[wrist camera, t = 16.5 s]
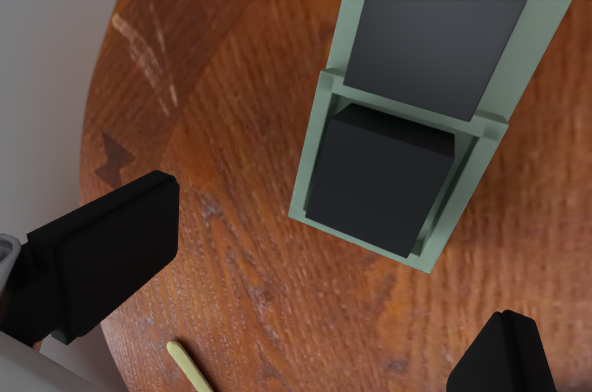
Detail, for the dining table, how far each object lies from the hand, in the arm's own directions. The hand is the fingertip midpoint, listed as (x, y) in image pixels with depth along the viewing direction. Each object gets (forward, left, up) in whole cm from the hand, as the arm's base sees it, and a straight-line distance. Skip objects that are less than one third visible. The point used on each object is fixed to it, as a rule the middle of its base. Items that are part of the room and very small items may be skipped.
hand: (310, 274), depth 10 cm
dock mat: (+1, +2, -11) cm, 11 cm away
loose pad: (0, 0, -9) cm, 9 cm away
